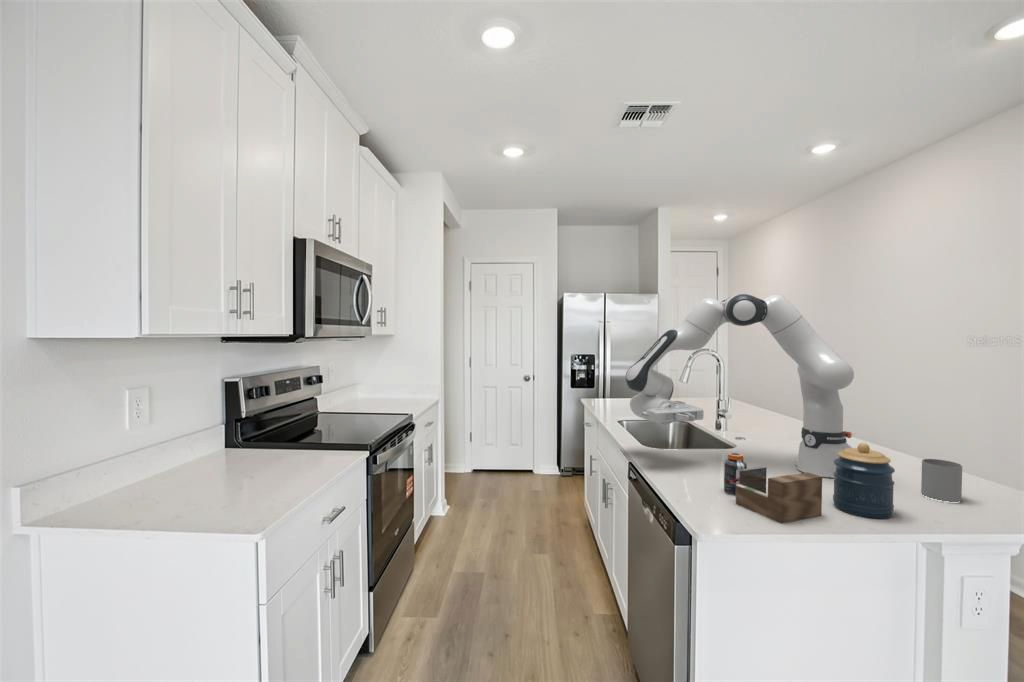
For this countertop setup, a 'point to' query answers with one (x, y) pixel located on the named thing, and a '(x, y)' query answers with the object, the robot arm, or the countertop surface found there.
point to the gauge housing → (785, 497)
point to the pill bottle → (732, 471)
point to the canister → (863, 482)
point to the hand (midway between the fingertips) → (691, 418)
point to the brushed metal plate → (752, 478)
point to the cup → (941, 480)
